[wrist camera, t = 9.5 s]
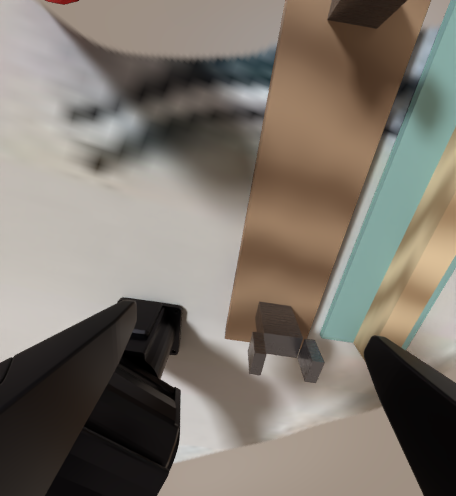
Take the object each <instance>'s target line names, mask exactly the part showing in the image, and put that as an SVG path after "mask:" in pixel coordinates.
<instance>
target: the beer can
mask: <svg viewBox="0 0 456 496" xmlns="http://www.w3.org/2000/svg"><path fill="white" fill-rule="evenodd" d="M45 1H48V2H52V3H57V4H63V5H65V4H69V3H73V2H77V1H79V0H45Z"/></svg>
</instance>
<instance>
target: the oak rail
mask: <svg viewBox="0 0 456 496" xmlns="http://www.w3.org/2000/svg"><path fill="white" fill-rule="evenodd" d="M455 255H456V127H455V129H454V131H453V133H452V135H451V137H450V140H449V142H448V144H447V146H446V148H445V150H444V152H443V154H442V156H441V159H440V161H439V163H438V165H437V167H436V169H435V171H434V173H433V175H432V177H431V180H430V182H429V184H428V186H427V188H426V190H425V192H424V194H423V196H422V199H421V201H420V203H419V205H418V207H417V209H416V211H415V213H414V215H413V217H412V220H411V222H410V224H409V226H408V228H407V230H406V232H405V234H404V236H403V239H402V241H401V243H400V245H399V247H398V249H397V251H396V253H395V255H394V257H393V260H392V262H391V264H390V266H389V268H388V270H387V272H386V274H385V276H384V279H383V281H382V283H381V285H380V287H379V289H378V291H377V293H376V295H375V297H374V300H373V302H372V304H371V306H370V308H369V310H368V312H367V314H366V316H365V319H364V321H363V323H362V325H361V327H360V329H359V331H358V333H357V335H356V337H355V340H354V342H353V343H354V345H355V346H356V348H357V349H358V351H359V352H360V354H361V356H362V357H363V359H364V349H365V347H366V346H367V344H368V342H369V340H370V338H371V337H372V336H373V335H377V336H383V337H386V338H388V339H389V340H391V341H392V342H394V343H395V344H397V345H398V346H400V347H402V345H403V344H404V342H405V340H406V338H407V337H408V335H409V333H410V332H411V330H412V328H413V327H414V325H415V323H416V321H417V320H418V318H419V316H420V315H421V313H422V311H423V310H424V308H425V306H426V305H427V303H428V301H429V299H430V298H431V296H432V294H433V293H434V291H435V289H436V288H437V286H438V284H439V283H440V281H441V279H442V277H443V276H444V274H445V272H446V271H447V269H448V267H449V266H450V264H451V262H452V260H453V259H454V257H455ZM364 360H365V359H364Z"/></svg>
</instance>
